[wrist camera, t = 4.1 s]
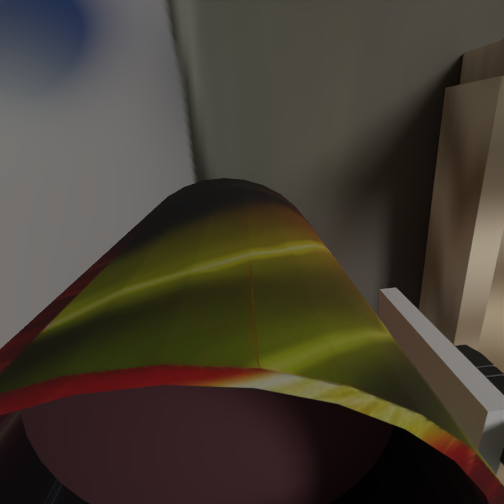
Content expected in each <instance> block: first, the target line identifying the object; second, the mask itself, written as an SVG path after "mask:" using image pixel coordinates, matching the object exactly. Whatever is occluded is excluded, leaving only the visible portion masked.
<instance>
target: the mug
mask: <svg viewBox="0 0 504 504" xmlns="http://www.w3.org/2000/svg"><path fill="white" fill-rule="evenodd" d="M0 504H504V485H503V484H502V483H501V481H500V480H499V479H498V477H497V476H496V475H495V473H494V472H493V470H492V469H491V468H490V466H489V465H488V464H487V462H486V461H485V460H484V458H483V457H482V456H481V454H480V453H479V452H478V450H477V449H476V448H475V446H474V445H473V444H472V442H471V441H470V440H469V438H468V437H467V436H466V434H465V433H464V432H463V430H462V429H461V427H460V426H459V425H458V423H457V422H456V421H455V419H454V418H453V417H452V415H451V414H450V413H449V411H448V410H447V409H446V407H445V406H444V405H443V403H442V402H441V401H440V399H439V398H438V397H437V395H436V394H435V393H434V391H433V390H432V389H431V387H430V386H429V384H428V383H427V382H426V380H425V379H424V378H423V376H422V375H421V374H420V372H419V371H418V370H417V368H416V367H415V366H414V364H413V363H412V362H411V360H410V359H409V358H408V356H407V355H406V354H405V352H404V351H403V350H402V348H401V347H400V345H399V344H398V343H397V341H396V340H395V339H394V337H393V336H392V335H391V333H390V332H389V331H388V329H387V328H386V327H385V325H384V324H383V323H382V321H381V320H380V319H379V317H378V316H377V315H376V313H375V312H374V311H373V309H372V308H371V307H370V305H369V304H368V302H367V301H366V300H365V298H364V297H363V296H362V294H361V293H360V292H359V290H358V289H357V288H356V286H355V285H354V284H353V282H352V281H351V280H350V278H349V277H348V276H347V274H346V273H345V272H344V270H343V269H342V268H341V266H340V265H339V263H338V262H337V261H336V259H335V258H334V257H333V255H332V254H331V253H330V251H329V250H328V249H327V247H326V246H325V245H324V243H323V242H322V241H321V239H320V238H319V237H318V235H317V234H316V233H315V231H314V230H313V229H312V227H311V226H310V225H309V223H308V222H307V221H306V219H305V218H304V217H303V216H302V214H301V213H300V212H299V211H298V209H297V208H296V207H295V206H294V205H293V204H292V203H290V202H289V201H288V200H287V199H285V198H284V197H283V196H282V195H281V194H279V193H277V192H275V191H273V190H271V189H269V188H267V187H265V186H263V185H260V184H257V183H253V182H250V181H246V180H240V179H227V178H221V179H213V180H204V181H201V182H198V183H195V184H192V185H189V186H186V187H184V188H182V189H180V190H178V191H177V192H175V193H173V194H172V195H170V196H168V197H167V198H166V199H165V200H164V201H163V202H161V203H160V204H159V205H158V206H157V207H156V208H155V209H154V210H153V211H152V212H150V213H149V214H148V215H147V216H146V217H145V218H144V219H143V220H142V221H141V222H140V223H138V224H137V225H136V226H135V227H134V228H133V229H132V230H131V231H130V232H128V233H127V234H126V235H125V236H124V237H123V238H122V239H121V240H120V241H119V242H118V243H116V244H115V245H114V246H113V247H112V248H111V249H110V250H109V251H108V252H107V253H105V254H104V255H103V256H102V257H101V258H100V259H99V260H98V261H97V262H96V263H95V264H93V265H92V266H91V267H90V268H89V269H88V270H87V271H86V272H85V273H84V274H82V275H81V276H80V277H79V278H78V279H77V280H76V281H75V282H74V283H73V284H71V285H70V286H69V287H68V288H67V289H66V290H65V291H64V292H63V293H62V294H61V295H59V296H58V297H57V298H56V299H55V300H54V301H53V302H52V303H51V304H50V305H48V306H47V307H46V308H45V309H44V310H43V311H42V312H41V313H40V314H39V315H37V316H36V317H35V318H34V319H33V320H32V321H31V322H30V323H29V324H28V325H26V326H25V327H24V329H22V330H21V331H20V332H19V333H18V334H17V335H15V336H14V337H13V338H12V339H11V340H10V341H9V342H8V343H7V344H6V345H4V346H3V347H2V348H1V349H0Z"/></svg>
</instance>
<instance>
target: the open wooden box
mask: <svg viewBox="0 0 504 504" xmlns="http://www.w3.org/2000/svg"><path fill="white" fill-rule="evenodd" d="M419 311H420V312H421V313H422V314H423V315H424V316H425V317H426V318H427V319H428V320H429V321H430V322H431V323H432V324H433V325H434V326H435V327H436V328H437V329H438V330H439V331H440V332H441V333H442V334H443V335H444V336H445V337H446V338H447V339H448V340H449V341H450V342H451V343H452V344H453V345H454V346H457V345H465V344H466V345H468V346H469V347H471V348H473V349H475V350H477V351H478V352H480V353H482V354H483V355H484V356H485V357H486V358H487V359H488V360H489V361H490V362H492V363H493V364H494V367H497V368H498V369H499V370H500V371H501V372H502V373H504V39H503V40H501V41H498V42H495V43H492V44H489V45H486V46H483V47H480V48H478V49H475V50H472V51H469V52H466V53H464V55H463V63H462V70H461V78H460V85H456V86H451V87H447V88H445V95H444V103H443V112H442V120H441V129H440V137H439V145H438V154H437V162H436V170H435V179H434V187H433V196H432V204H431V212H430V221H429V229H428V238H427V246H426V254H425V263H424V271H423V280H422V288H421V296H420V305H419ZM496 476H497V477H498V479H499V480H500V481H501V483H502V484H503V485H504V465H503V464H502V463H501V462H500V465H499V469H498V472H497V475H496Z"/></svg>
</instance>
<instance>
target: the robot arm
mask: <svg viewBox="0 0 504 504" xmlns="http://www.w3.org/2000/svg"><path fill="white" fill-rule="evenodd" d="M378 317H379V319H380V320H381V321H382V323H383V324H384V325H385V327H386V328H387V329H388V331H389V332H390V333H391V335H392V336H393V337H394V339H395V340H396V341H397V343H398V344H399V345H400V347H401V348H402V350H403V351H404V352H405V354H406V355H407V356H408V358H409V359H410V360H411V362H412V363H413V364H414V366H415V367H416V368H417V370H418V371H419V372H420V374H421V375H422V376H423V378H424V379H425V380H426V382H427V383H428V384H429V386H430V387H431V389H432V390H433V391H434V393H435V394H436V395H437V397H438V398H439V399H440V401H441V402H442V403H443V405H444V406H445V407H446V409H447V410H448V411H449V413H450V414H451V415H452V417H453V418H454V419H455V421H456V422H457V423H458V425H459V426H460V427H461V429H462V430H463V432H464V433H465V434H466V436H467V437H468V438H469V440H470V441H471V442H472V444H473V445H474V446H475V448H476V449H477V450H478V452H479V453H480V454H481V456H482V457H483V458H484V460H485V461H486V462H487V464H488V465H489V466H490V468H491V469H492V470H493V472H494V473H495V475H497V472H498V469H499V465H500V462H501V463H502V464H503V465H504V373H502V372H501V371H500V370H499V369H498V368H497V367H494V364H493V363H492V362H490V361H489V360H488V359H487V358H486V357H485V356H484V355H483V354H482V353H480V352H478V351H477V350H475V349H473V348H471V347H469V346H468V345H466V344H465V345H457V346H454V345H453V344H452V343H451V342H450V341H449V340H448V339H447V338H446V337H445V336H444V335H443V334H442V333H441V332H440V331H439V330H438V329H437V328H436V327H435V326H434V325H433V324H432V323H431V322H430V321H429V320H428V319H427V318H426V317H425V316H424V315H423V314H422V313H421V312H420V311H419V310H418V309H417V308H416V307H415V306H414V305H413V304H412V303H411V302H410V301H409V300H408V299H407V298H406V297H405V296H404V295H403V294H402V293H401V292H400V291H399V290H398V289H397V288H396V287H395V288H387V289H380V294H379V311H378Z"/></svg>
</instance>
